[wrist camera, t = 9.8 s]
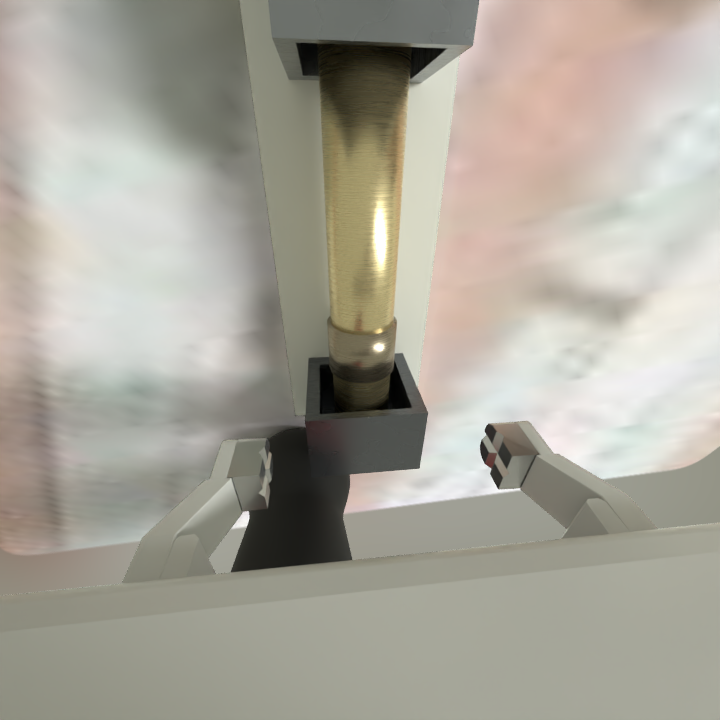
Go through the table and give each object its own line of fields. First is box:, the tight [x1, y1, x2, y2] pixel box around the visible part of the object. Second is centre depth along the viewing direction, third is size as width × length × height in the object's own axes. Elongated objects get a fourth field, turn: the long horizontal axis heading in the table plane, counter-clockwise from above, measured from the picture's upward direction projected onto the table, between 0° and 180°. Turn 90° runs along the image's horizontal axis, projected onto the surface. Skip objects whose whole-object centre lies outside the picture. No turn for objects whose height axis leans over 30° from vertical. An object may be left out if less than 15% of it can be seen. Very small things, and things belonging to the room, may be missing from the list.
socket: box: [305, 353, 428, 477], centre depth 22 cm, size 5×7×7 cm
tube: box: [317, 43, 412, 413], centre depth 17 cm, size 20×4×4 cm, turn 0°
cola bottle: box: [231, 429, 352, 572], centre depth 17 cm, size 8×8×30 cm
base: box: [239, 0, 460, 416], centre depth 19 cm, size 32×10×1 cm, turn 0°
